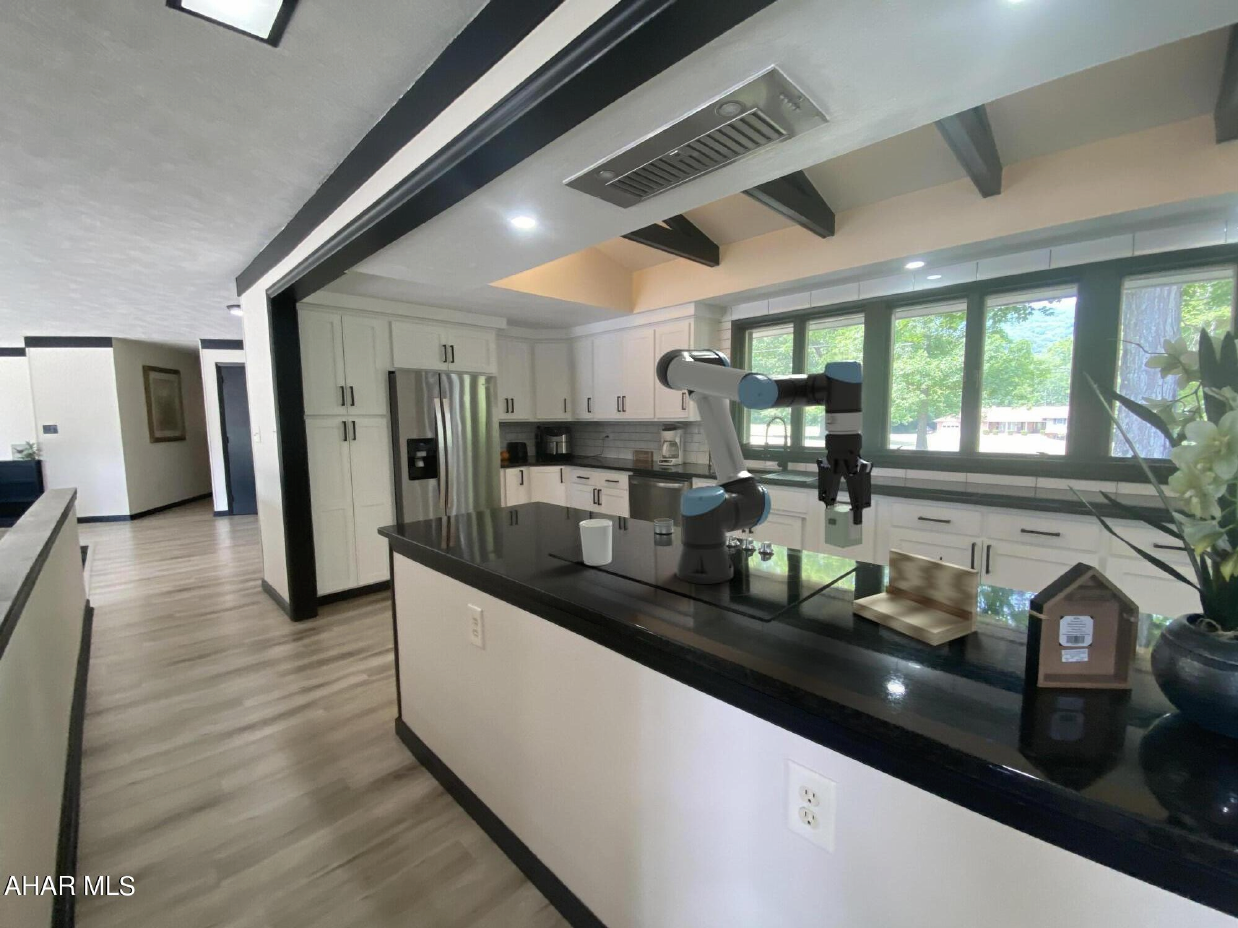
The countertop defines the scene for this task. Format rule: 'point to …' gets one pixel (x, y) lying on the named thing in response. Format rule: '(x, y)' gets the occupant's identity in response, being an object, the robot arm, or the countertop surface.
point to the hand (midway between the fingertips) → (843, 535)
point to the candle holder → (596, 541)
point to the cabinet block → (839, 527)
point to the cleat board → (925, 599)
